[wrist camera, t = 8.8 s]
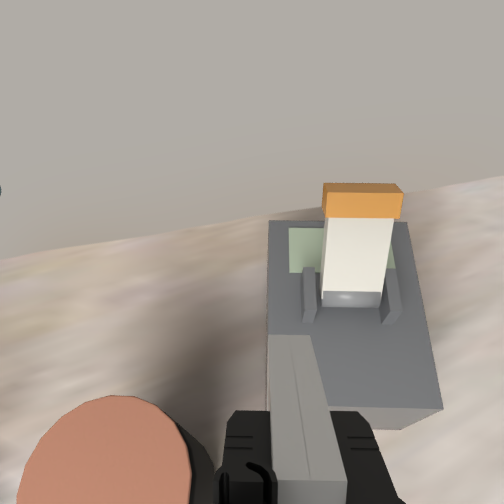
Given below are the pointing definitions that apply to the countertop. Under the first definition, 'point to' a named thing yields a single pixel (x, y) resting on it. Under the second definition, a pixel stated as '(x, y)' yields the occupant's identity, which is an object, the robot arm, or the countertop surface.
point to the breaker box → (356, 329)
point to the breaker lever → (356, 242)
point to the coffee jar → (117, 458)
